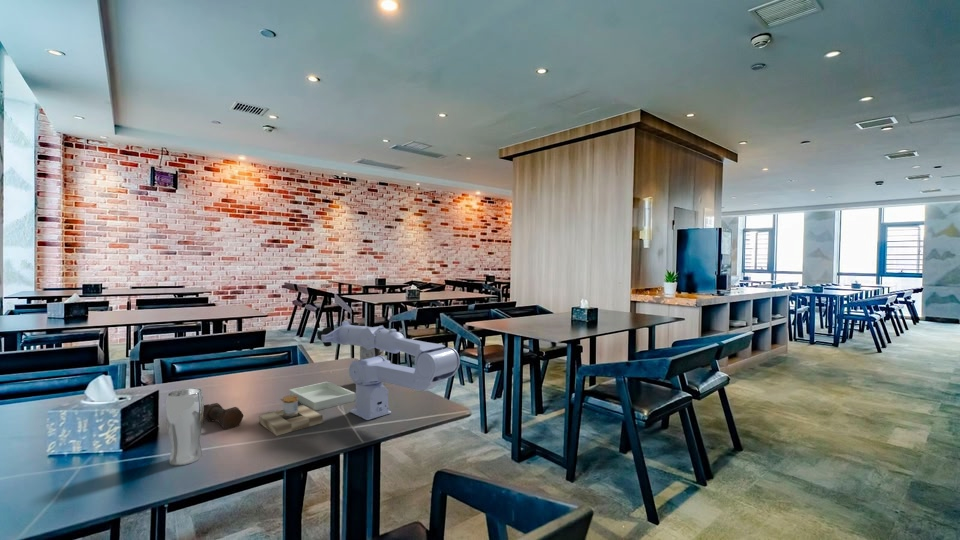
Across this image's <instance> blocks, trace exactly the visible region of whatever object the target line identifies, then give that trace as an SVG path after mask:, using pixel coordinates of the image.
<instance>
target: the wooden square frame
mask: <svg viewBox="0 0 960 540" xmlns="http://www.w3.org/2000/svg"><path fill="white" fill-rule="evenodd" d="M323 419H324V418H323V415H322V414H320V413H319V412H317V411H314V410H312V409H310V408H308V407H306V406H304V405H302V404H301V405H298V417H295V418H291V419H287V420H285V419H284V416H283V409H281V410H276V411H274V412H273V411H271V412H268V413H265V414H260V415H258V421H259V422H258V424H260V425H261V426H263V427H264V428H265V429H267V430H268V431H270V432H271V433H272V434H274V435H275V436H280V435H284V434H287V433H291V432H296V431H298V429H299V430H301V429H306V428H308V427H312V426H316V425H320V424H323V423H324V422H323Z"/></svg>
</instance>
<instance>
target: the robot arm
mask: <svg viewBox="0 0 960 540" xmlns="http://www.w3.org/2000/svg"><path fill="white" fill-rule="evenodd" d="M316 335H317V339H318V340H320V341H321V342H322V344H323V346H324V347H331V346H332V344H333V343H334V344H338V345H345V346H346V345H347V346H349V345H350V346H357V347H358V346H359V347H360V346H363V347H364V348H365V349H367V350H369V349H372V348H377V349H380V350H383V351H384V352H387V353H391V354H398V353H400V352H403V353H405V354H407V355H411V356H412V357H414V366H415V367H410V366H405V365H399V364H395V363H392V362H391V360H389V359H387V358H385V357H383V356H380V355H379V356H376V357H373V358H368V359H363V360H360V359H359V360H353V361H352V362H351V363H350V365H349V368H348V373H349V374H348V375H349V378H350V379H351V381H352V382H353V384H355V408H354V409H350V410H349V413H352V414H353V415H356V416H358V417H359V418H362V419H364V420H366V421H369V420H373V419H375V418H380V417H382V416H386V415H389V414H391V413H392V411H391V410H390V409H389V390H388V389H387V387H386V386H384V384H385V383H386V384H390V385H394V386H398V387H402V388H406V389H410V390H415V391H420V392H425V391H429V390H432V389H433V388H435V387H437V386H438V385H440V384H441V383H443V382H444V381H445V380H448V379H450V378H451V377H453V376H455V375H456V373H457V371H458V370H459V368H460V365H461V364H460V363H461V358H460V355H459V353H458V351H457V350H456V349H455V348H453V347H450V346H447V347H446V345H444V344H443V343H442V344H441V343H435V342H427V341H422V340H417V339H410V338H405V336H404V335H403V334H402V333H401V332H400V331H397V329H395V328H390V329H387V328H386V327H384V325H383V324H382V325H379V326H373V327H372V326H367V325H359V322H352V323H349V320H345V321H342V322H341V325H340V326H338V327H337V328H335V329H334V330H332V326H328V327H324V328H323V329H321V330H318V331H317V332H316ZM383 383H384V384H383Z"/></svg>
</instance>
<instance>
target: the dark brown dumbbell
mask: <svg viewBox="0 0 960 540" xmlns="http://www.w3.org/2000/svg"><path fill="white" fill-rule="evenodd" d="M243 418H244V414H243V412H242V411H241V409H240V408H238V406H233V407H229V408H226V409H225V408H223V407H222V406H221V404H220V403H218V402H215V403H211V404H204V416H203V419H205V420H206V421H207V420H208V422H209V421H210V422H213V421H212V420H214V421H217V422H218V423H219V424H220V425H221V426H222V428H223V429H225V430H231V429H233V428H237V427H238V426H239V427H240V424H241V423H242V421H243Z"/></svg>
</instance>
